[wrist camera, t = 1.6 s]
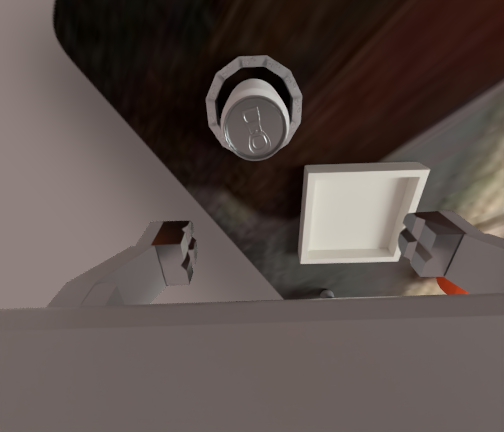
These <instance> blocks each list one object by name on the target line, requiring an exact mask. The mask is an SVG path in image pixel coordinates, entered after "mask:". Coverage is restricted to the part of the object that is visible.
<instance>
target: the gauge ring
mask: <svg viewBox="0 0 504 432" xmlns="http://www.w3.org/2000/svg"><path fill="white" fill-rule="evenodd" d="M263 66H264V67H266V68H267V69H269V70H271V71H272V72H274V73H275V74H277V75H279V76H280V77H281V78H282V80H283V82H284V84H285V86H286V88H287V90H288V92H289V94H290V106H289V132H288V135H287V138H286V140H285V142H284V143H283V145H282V147H284V146H285V145H287V144H288V142H289V141H290V139H291V138H292V136H293V134H294V133H295V131H296V129H297V128H298V126H299V124H300V123H301V107H302V94H301V92H300V90H299V88H298V86H297V84H296V82H295V79H294V77H293V75H292V73H291V71H290V70H289V69H287V68H286V67H284V66H282V65H281V64H279V63H278V62H276V61H275V60H273V59H271V58H270V57H268V56H267V55H262V56H239V57H237V58H236V59H235V60H233V61H232V62H231V63H229V64H228V65H227V66H225V67H224V68H223V69H221V70H220V71H219V72H217V73H216V75H215V77H214V80H213V82H212V85H211V87H210V90H209V92H208V95H207V97H206V106H207V115H208V124H209V127H210V128H211V130H212V131H213V133H214V134H215V136H216V137H217V139H218V140H219V142H220V143H221V144H222V146H223V147H225V148H227V149H229V150H231V149H230V148H229V146H228V145H227V144H226V142H225V140H224V138H223V135H222V132H221V120H220V118H219V108H218V95H219V93H220V91H221V88H222V86H223V84H224V81H225V79H226V78H228V77H229V76H231V75H232V74H233V73H235V72H236V71H237V70H239V69H240V68H242V67H263ZM282 147H281V148H282ZM231 151H232V150H231Z"/></svg>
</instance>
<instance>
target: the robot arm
mask: <svg viewBox="0 0 504 432" xmlns="http://www.w3.org/2000/svg"><path fill="white" fill-rule="evenodd" d="M403 224H404V226H405V228H404V229H403V230H402V231H401V232H400V233H399V237H398V247H399V250H400V252H401V253H402V255H403V256H404V257H406V258H408V259H410V260H411V263H410V265H411V266H412V267H413V268H414V270H415V271H416V272H417V273H418V275H419V276H420V277H445V278H446V279H447V280H449V281H450V282H452V283H454V284H455V285H457V286H458V287H460V288H462V289H463V290H465V291H466V292H468V293H469V294H450V295H419V296H389V297H358V298H327V299H296V300H266V301H236V302H205V303H175V304H174V303H173V304H150V303H151V302H152V301H153V300H154V299H155V298H156V297H157V296H158V295H159V294H160V293H161V292H162V291H163V290H164V289H165V288H166V286H174V285H189V284H190V281H191V277H192V274H193V268H192V266H193V265H194V264H195V263H196V259H197V244H196V240H195V239H194V238H193V237H192V236H193V232H194V228H193V223H192V222H191V221H156V222H150V223H149V225H148V227H147V228H146V230H145V231H144V233H143V235H142V236H141V238H140V239H139V241H138V242H137V244H136V246H132V247H129V248H127V249H126V250H124V251H122V252H120V253H118V254H117V255H115V256H113V257H111V258H110V259H108V260H106V261H104V262H103V263H101V264H99V265H97V266H95V267H94V268H92V269H90V270H88V271H87V272H85V273H83V274H81V275H80V276H78V277H76V278H74V279H72V280H71V281H69V282H67V283H66V284H65V285H64V286H63V288H62V289H61V290H60V291H59V293H58V294H57V295H56V296H55V297H54V298H53V300H52V301H51V302H50V303H49V305H48V306H47V307H46V308H20V309H0V432H504V239H503V238H500V237H497V236H494V235H491V234H484V233H482V232H481V231H480V230H478V229H477V228H476V227H474V226H473V225H471V224H470V223H469V222H467V221H466V220H465V219H463V218H462V217H460V216H459V215H458V214H456V213H455V212H453V211H449V210H448V211H435V212H418V213H407V215H406V216H405V217H404V220H403Z"/></svg>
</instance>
